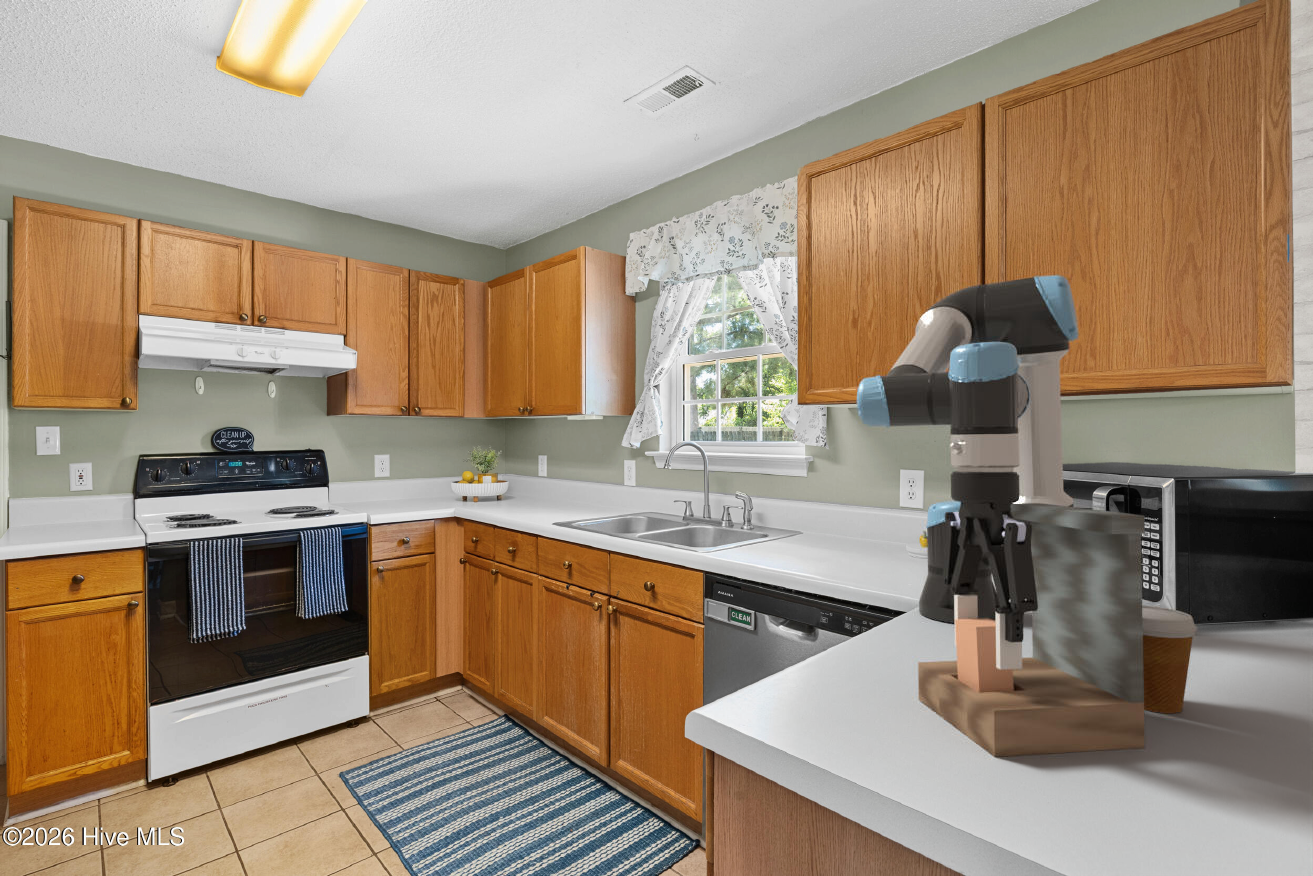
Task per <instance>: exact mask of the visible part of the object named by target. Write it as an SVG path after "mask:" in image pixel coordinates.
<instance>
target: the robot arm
mask: <svg viewBox="0 0 1313 876" xmlns="http://www.w3.org/2000/svg"><path fill="white" fill-rule="evenodd" d="M1072 292H1073V291H1072V290H1071V286H1070V283H1069V281H1068V279H1067V278H1066V277H1065V276H1062V275H1057V274H1056V275H1055V274H1054V275H1053V274H1052V275H1042V276H1040V275H1039V276H1038V275H1036V276H1034V277H1033V276H1032V277H1027V278H1020V279H1012V280H1006V281H999V282H992V283H986V284H977V285H971V286H967V287H964V288H962V289H959V290H957V291H955V292H952V293H950V294H948V295H946V296H945V297H943V298H942V299H940V300H938V301H937V302H935V303H934V304H932V306H930V307H929V308H928V309H926V311H925V312H924V313H923V314H922V315H921V317H920V318H919V319H918V321H917V323H916V326H915V332H914V333H915V334H914V336H913V338H912V340H910V342H909V343H908V345H907V346H906V347H905V349H904V350H903V351H902V353H901V354H900V356H899V357H898V359H897V360H896V362H895V363H894V364H893V366H892V367H891V369H890V370H889V371H888V373H887V374H886V375H876V376H872V377H865V378H863V379H862V380H861V381H860V382H859V385H858V387H857V393H856V407H857V413H858V417H859V419H860V421H861V422H862V423H863V424H864V425H865V426H868V427H886V428H892V427H914V426H915V427H919V426H950V444H949V450H950V465H951V466H952V467H954V468H956V470H955V471H952V473H951V474H950V498H951V499H952V500H948V501H941V502H940V501H939V502H935V503H933V504H931V505H930V506H929V508H928V511H927V521H926V522H927V524H926V525H925V527H926V528H927V531H926V534H927V538H926V539H927V545H926V546H927V576H926V579H925V582H924V585H923V589H922V591H921V594H920V598H919V599H918V611H919V613H920V614H921V616H923V617H926V618H928V619H932V620H935V621H939V622H943V621H944V623H949V622H950V624H955V619H981V618H988V619H992V620H995V621H996V668H998V669H1000V670H1003V669H1022V658H1023V641H1024V616H1025V613H1030V612H1032V611H1037V609H1038V602H1037V593H1036V585H1035V577H1034V568H1033V560H1032V552H1031V536H1032V525H1031V521H1027V520H1021V519H1014V518H1013V515H1012V512H1011V504H1012V503H1042V504H1050V505H1059V506H1067V507H1074V504H1075V503H1074V499H1073V497H1071V496H1070V495H1069V494H1067V493H1066V492H1065V490H1064V468H1063V466H1064V465H1063V441H1062V440H1063V437H1062V436H1063V435H1062V408H1061V407H1062V404H1061V376H1060V372H1061V371H1060V361H1061V360H1062V358H1064V356H1065V355H1067V354H1068V353H1069V351H1070V342H1073V341H1075V340H1078V338H1079V328H1078V327H1079V326H1078V319H1077V318H1078V317H1077V312H1076V308H1075V303H1074V302H1075V301H1074V298H1073V293H1072ZM954 647H956V626H955V625H954Z"/></svg>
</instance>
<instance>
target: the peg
mask: <svg viewBox="0 0 1313 876" xmlns="http://www.w3.org/2000/svg"><path fill="white" fill-rule="evenodd" d="M955 626H956V646H955V647H956V661H957V670H958V680H959V681H961V682H962V683H964V684H966V685H967V686H969V687H970V688H972V689H974V690H975V691H977V692H978V693H985V692H1005V691H1014V686H1013V669H1003V670H1000V669H998V668H996V621H995V620H992V619H988V618H981V619H955V623H954V627H955Z"/></svg>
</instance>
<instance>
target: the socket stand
mask: <svg viewBox="0 0 1313 876" xmlns="http://www.w3.org/2000/svg"><path fill="white" fill-rule="evenodd" d="M1011 512H1012V515H1013V518H1014V519H1021V520H1027V521H1031V525H1032V536H1031V552H1032V560H1033V568H1034V577H1035V585H1036V593H1037V602H1038V609H1037V611H1031V620H1032V621H1031V623H1032V625H1031V627H1032V628H1031V629H1032V630H1031V632H1032V639H1031V640H1032V656H1030V657H1022V669H1013V686H1014V691H1005V692H985V693H978V692H977V691H975V690H974V689H972V688H970V687H969V686H967V685H966V684H964V683H962V682H961V681H959V680H958V670H957V660H944V661H943V660H941V661H922V662H921V661H919V662H918V661H917V663H918V664H917V665H918V666H917V667H918V668H917V669H918V674H917V675H918V679H917V680H918V701H919V700H920V701H919V702H921V701H922V702H923V703H924V704H923V703H922V702H921V703H922V704H923V705H924V706H926V707H927V706H928V707H927V708H928V709H930V708H931V709H932V712H934V713H935V712H936V714H937V715H938V716H939V715H940V716H939V717H941V718H942V717H943V718H944V719H943V718H942V719H943V720H945V719H946V720H947V721H948V722H947V721H946V720H945V721H946V722H947V723H949V724H950V725H951V724H952V726H953V727H954V728H955V729H957V730H958V731H959V732H961V733H962V734H963V735H965V736H966V737H967V738H969V739H970V740H972V741H973V742H974V743H976V744H977V745H978V746H980V747H981V748H982V749H984V750H985V751H986V752H987V753H989V754H990V755H991V756H993V757H994V758H996V757H997V758H999V757H1000V758H1001V757H1012V756H1014V757H1015V756H1016V757H1017V756H1030V755H1045V754H1046V755H1047V754H1060V753H1076V752H1078V753H1079V752H1094V751H1107V750H1111V751H1112V750H1126V749H1141V748H1143V749H1144V748H1145V710H1144V680H1143V622H1142V605H1143V572H1142V571H1143V570H1142V568H1143V567H1142V564H1143V563H1142V534H1145V533H1146V531H1145V530H1146V528H1145V527H1146V524H1145V519H1146V518H1145V517H1146V516H1145V515H1142V514H1141V515H1140V514H1134V513H1125V512H1118V511H1117V512H1116V511H1109V510H1101V509H1100V510H1099V509H1093V508H1085V507H1084V508H1083V507H1076V506H1075V507H1067V506H1059V505H1050V504H1042V503H1012V504H1011ZM931 709H930V710H931Z"/></svg>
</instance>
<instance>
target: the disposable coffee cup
mask: <svg viewBox="0 0 1313 876" xmlns="http://www.w3.org/2000/svg"><path fill="white" fill-rule="evenodd" d="M1142 622H1143V680H1144V711H1147V712H1154V713H1161V714H1177V713H1181V712H1182V711H1183V709H1184V708H1183V707H1184V699H1185V693H1186V686H1187V679H1188V673H1189V672H1188V671H1189V667H1190V666H1189V664H1190V657H1191V650H1192V643H1193V637H1194V636H1195V635H1196V632H1197V631H1198V626H1197V625H1196V624H1195V622H1194V618H1193V617H1192V615H1191V614H1189V613H1186V612H1183V611H1180V610H1177V609H1173V608H1167V607H1163V606H1154V605H1148V604H1147V605H1145V604H1142Z"/></svg>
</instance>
